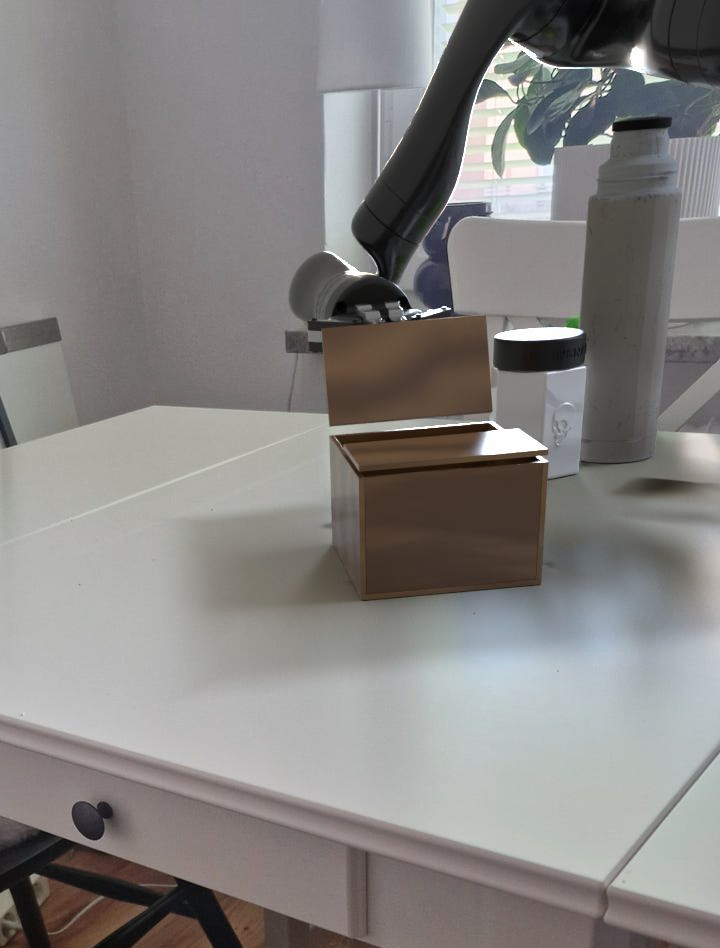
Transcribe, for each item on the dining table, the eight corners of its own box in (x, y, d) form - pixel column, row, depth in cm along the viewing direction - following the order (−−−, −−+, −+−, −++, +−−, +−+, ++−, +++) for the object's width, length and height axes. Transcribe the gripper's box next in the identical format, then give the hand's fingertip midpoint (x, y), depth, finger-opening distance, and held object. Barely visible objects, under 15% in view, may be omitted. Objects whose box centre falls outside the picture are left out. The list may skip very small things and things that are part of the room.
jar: (521, 486, 105) (528, 344, 99) (467, 471, 112) (471, 336, 106) (598, 470, 109) (610, 331, 102) (542, 456, 115) (550, 324, 109)
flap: (329, 425, 89) (329, 426, 90) (492, 411, 90) (491, 412, 90) (321, 328, 89) (321, 330, 89) (486, 314, 89) (484, 316, 89)
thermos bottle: (556, 450, 117) (578, 122, 103) (631, 442, 118) (663, 116, 103) (590, 466, 110) (618, 118, 96) (669, 457, 111) (709, 111, 97)
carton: (332, 543, 94) (328, 424, 90) (488, 529, 94) (493, 410, 90) (360, 600, 81) (358, 466, 77) (541, 584, 82) (549, 449, 77)
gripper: (290, 280, 105) (313, 297, 90) (435, 267, 105) (482, 282, 90) (294, 369, 109) (317, 399, 94) (434, 357, 109) (479, 385, 94)
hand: (398, 342), depth 92 cm, fingers closed
